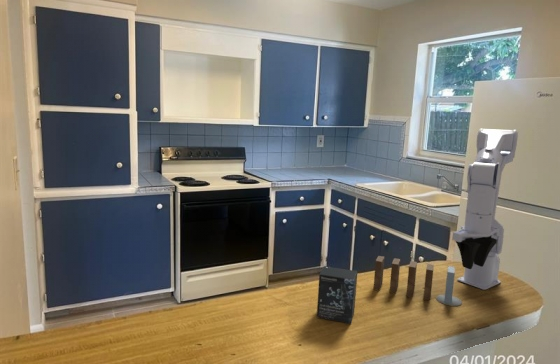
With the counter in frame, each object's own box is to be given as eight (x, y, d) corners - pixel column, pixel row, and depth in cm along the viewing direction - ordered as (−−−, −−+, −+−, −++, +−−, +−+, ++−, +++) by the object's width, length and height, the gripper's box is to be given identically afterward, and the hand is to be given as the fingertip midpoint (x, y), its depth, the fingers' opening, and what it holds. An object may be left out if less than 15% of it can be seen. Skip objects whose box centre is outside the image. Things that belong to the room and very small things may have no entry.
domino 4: (430, 293, 105) (433, 264, 104) (430, 300, 101) (433, 270, 100) (424, 292, 106) (427, 263, 105) (423, 299, 102) (426, 269, 101)
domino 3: (414, 290, 107) (417, 262, 106) (412, 297, 103) (415, 267, 102) (408, 289, 108) (410, 261, 106) (406, 295, 104) (408, 266, 102)
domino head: (451, 296, 104) (454, 267, 102) (451, 303, 100) (454, 273, 98) (444, 295, 104) (447, 266, 103) (444, 302, 100) (447, 271, 99)
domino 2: (397, 287, 109) (400, 259, 107) (395, 293, 105) (398, 264, 103) (391, 286, 109) (394, 258, 108) (389, 292, 105) (391, 263, 104)
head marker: (461, 298, 103) (461, 297, 103) (462, 308, 98) (462, 307, 98) (436, 293, 106) (436, 292, 106) (435, 302, 100) (435, 302, 100)
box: (316, 318, 90) (318, 273, 89) (321, 307, 96) (323, 265, 94) (351, 325, 88) (354, 279, 86) (354, 313, 93) (357, 270, 92)
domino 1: (382, 284, 110) (384, 256, 109) (379, 290, 106) (381, 261, 105) (376, 283, 111) (378, 255, 110) (373, 289, 107) (375, 260, 106)
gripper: (484, 206, 103) (478, 257, 105) (444, 210, 96) (438, 264, 99) (510, 212, 97) (503, 266, 99) (469, 217, 90) (463, 275, 92)
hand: (472, 266), depth 98 cm, fingers open, 4 cm apart
